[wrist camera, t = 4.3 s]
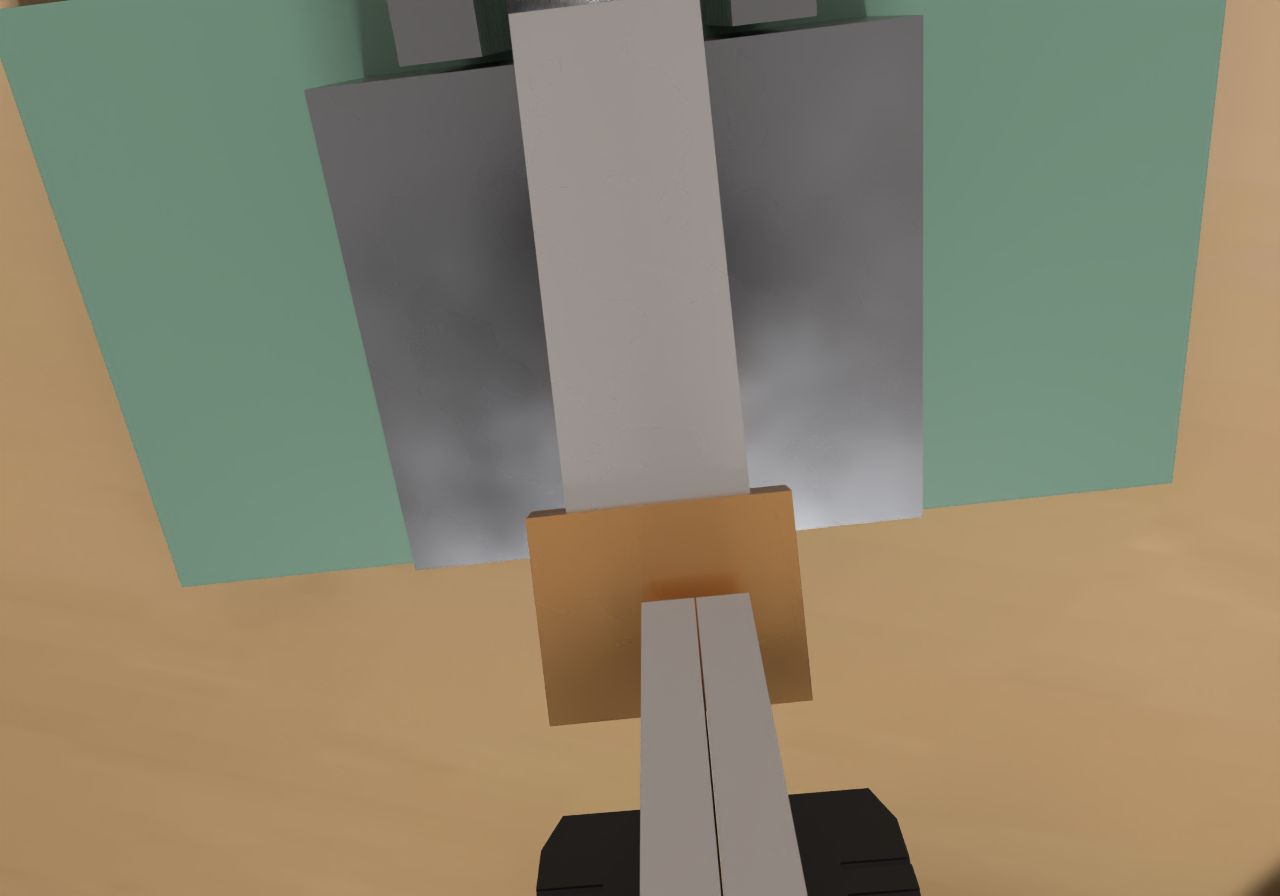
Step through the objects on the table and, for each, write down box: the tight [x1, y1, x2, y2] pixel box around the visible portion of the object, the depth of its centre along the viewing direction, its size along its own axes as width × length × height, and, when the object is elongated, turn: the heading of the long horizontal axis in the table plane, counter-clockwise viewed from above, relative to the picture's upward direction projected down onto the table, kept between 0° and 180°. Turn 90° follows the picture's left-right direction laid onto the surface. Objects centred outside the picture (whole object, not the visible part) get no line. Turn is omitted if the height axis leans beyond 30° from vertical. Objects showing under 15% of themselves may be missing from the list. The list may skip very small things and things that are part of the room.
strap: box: [506, 0, 813, 726], centre depth 15 cm, size 4×12×1 cm, turn 6°
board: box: [0, 0, 1226, 587], centre depth 22 cm, size 24×13×1 cm, turn 96°
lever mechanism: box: [304, 0, 923, 570], centre depth 19 cm, size 10×13×6 cm
